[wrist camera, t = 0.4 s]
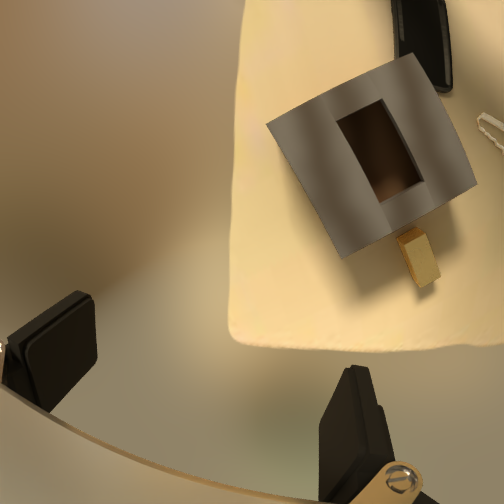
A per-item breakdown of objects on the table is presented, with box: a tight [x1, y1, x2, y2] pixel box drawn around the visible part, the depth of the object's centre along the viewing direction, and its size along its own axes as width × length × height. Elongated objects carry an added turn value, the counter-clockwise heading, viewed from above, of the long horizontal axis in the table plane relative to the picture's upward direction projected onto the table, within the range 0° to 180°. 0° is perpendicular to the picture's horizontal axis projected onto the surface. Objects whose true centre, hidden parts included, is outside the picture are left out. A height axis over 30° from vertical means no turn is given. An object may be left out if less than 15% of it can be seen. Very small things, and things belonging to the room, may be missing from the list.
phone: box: [391, 0, 453, 93], centre depth 28 cm, size 8×1×15 cm
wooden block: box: [396, 227, 441, 288], centre depth 35 cm, size 3×6×4 cm, turn 30°
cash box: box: [266, 52, 477, 259], centre depth 30 cm, size 16×14×9 cm
